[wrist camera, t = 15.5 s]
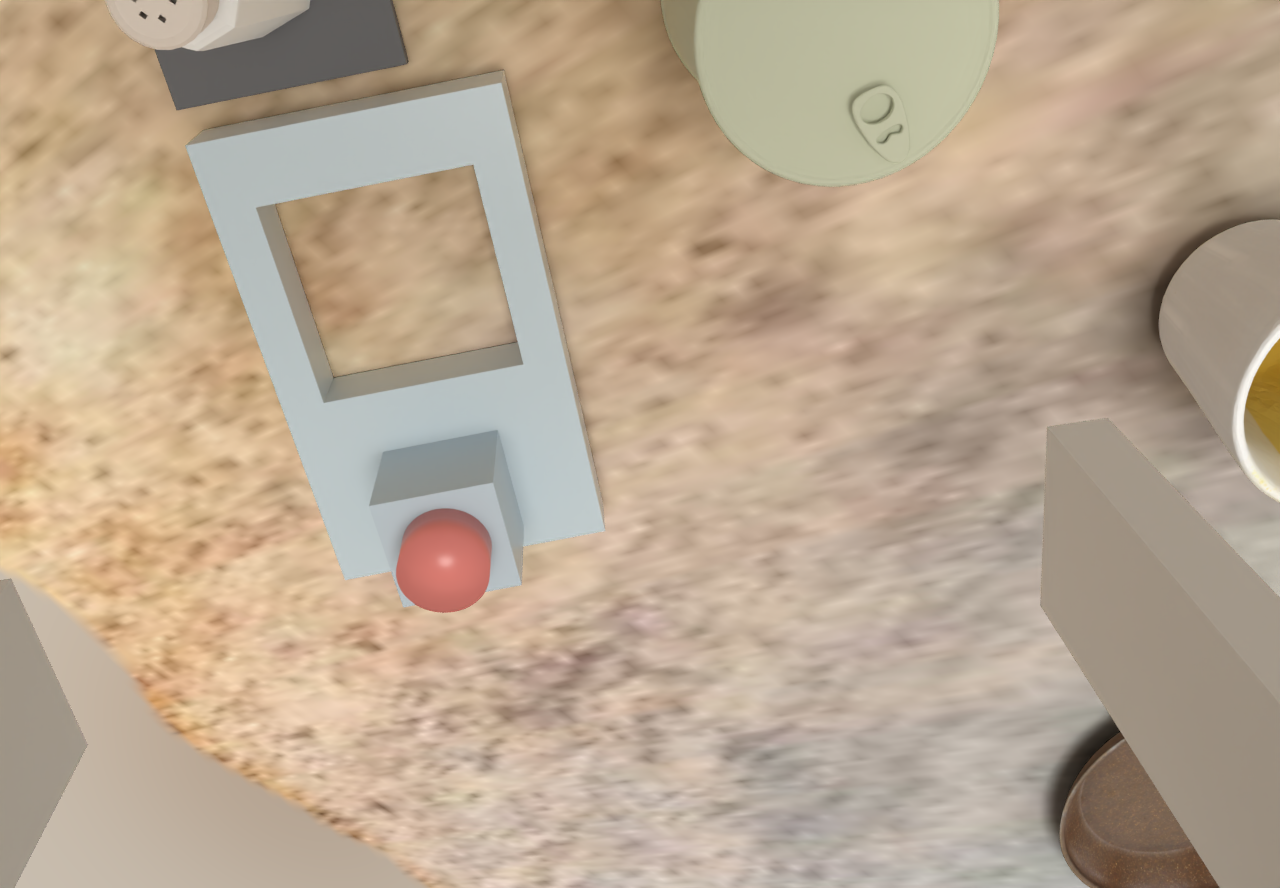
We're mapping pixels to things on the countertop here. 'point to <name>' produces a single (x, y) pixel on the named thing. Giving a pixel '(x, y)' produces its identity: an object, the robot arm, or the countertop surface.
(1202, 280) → the mug
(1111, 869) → the saucer
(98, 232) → the countertop surface
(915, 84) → the can
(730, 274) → the countertop surface
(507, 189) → the frame
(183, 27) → the pepper shaker
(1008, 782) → the countertop surface
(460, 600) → the plunger
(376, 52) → the mat
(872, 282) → the countertop surface
